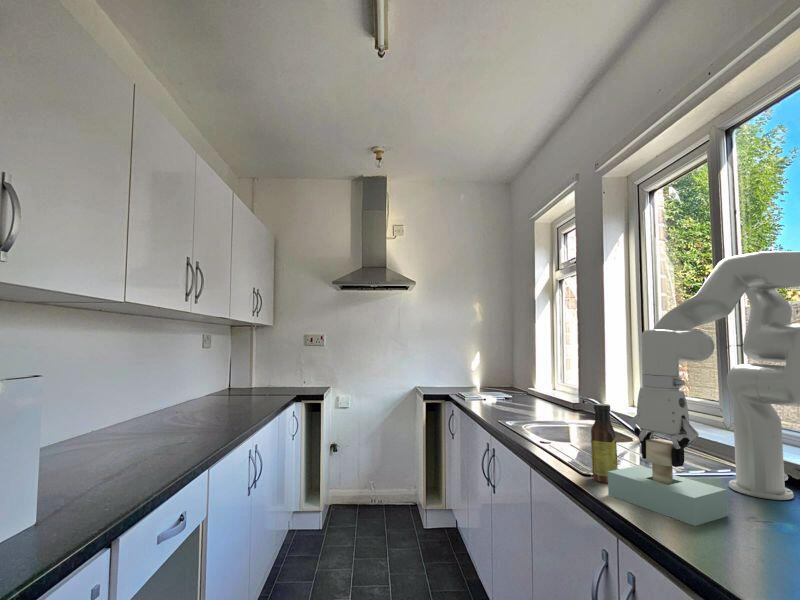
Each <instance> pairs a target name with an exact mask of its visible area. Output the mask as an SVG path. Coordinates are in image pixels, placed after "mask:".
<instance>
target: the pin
mask: <svg viewBox="0 0 800 600" xmlns="http://www.w3.org/2000/svg"><path fill="white" fill-rule="evenodd" d="M672 448H674V445H673V442H672V440H668V439H660V438H659V439H658V438H650V439H647V440H646V459H645V461H646V462H648V463H650V464H651V469H652V477H653V481H656V482H660V483H663V484H666V485H671V484H673V475H674V473H673V472H674V471H673V466H672Z"/></svg>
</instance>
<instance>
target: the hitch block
mask: <svg viewBox="0 0 800 600" xmlns="http://www.w3.org/2000/svg"><path fill="white" fill-rule="evenodd" d="M607 491H608V496H611V497H614V498H616V499H619V500H622V501H623V502H627V503H630V504H633V505H635V506H638V507H641V508H643V509H646V510H650V511H653V512H655V513H657V514H660V515H663V516H665V517H668V516H669V518H671V517H672V518H671V519H674V518H675V519H674V520H677V521H679V520H680V522H682V523H685V524H688V525H690V526H694V527H696V526H699V525H703V524H706V523H710V522H712V521H717V520H719V519H723V518H726V517H728V516H729V515H728V514H729V513H728V496H727V494H728V492H727V489H726V488H723V487H719V486H715V485H712V484H708V483H704V482H701V481H697V480H693V479H690V478H686V477H682V476H679V475H676V474H673V484H671V485H666V484H663V483H660V482H656V481H653V477H652V468H649V467H647V466H644V465H643V466H642V465H636V466H629V467H625V468H623V467H622V468H618V470H612V471H608V483H607Z"/></svg>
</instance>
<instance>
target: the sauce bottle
mask: <svg viewBox="0 0 800 600" xmlns="http://www.w3.org/2000/svg"><path fill="white" fill-rule="evenodd" d="M593 410H594V424H592V426H591V428H590V429H591V430H590V435H591V436H590V449H591V451H590V453H591V469H592V472H591V473H592V477H593V478H592V479H594V481H596V482H598V483H602V484H608V471H612V470H618V469H619V468H618V467H619V466H618V448H617V435H616V432H615V430H614V427H613V423H612V422H611V414H610V413H611V405H610V404H605V403H594V404H593Z"/></svg>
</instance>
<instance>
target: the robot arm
mask: <svg viewBox="0 0 800 600" xmlns="http://www.w3.org/2000/svg"><path fill="white" fill-rule="evenodd" d="M798 287H800V251H782V250H780V251H779V250H778V251H776V250H771V251H770V250H767V251H758V252H757V251H756V252H751V253H744V254H739V255H738V254H737V255H734V256H732V255H731V256H729V257H726V258H723V259H722V260H720V261H719V262H718V263H717V264H716V266H715V267H714V268H713V270H712V271H711V272H710V274H709V275H708V277H707V278H706V280H705V281H704V282H703V284H702V286H701V287H699V289H698V290H697V292H696V293H695V294H694V295H693V296H692V297H689V298H687V299H686V300H685V301H683V302H681V303H680V304H678V305H677V306H675V307H673V308H672V309H671V310H669V311H668V312H667V313H665V314H664V315H663V316H662V317H661V318H660V319H659V320H658V322H657V323H656V324H655V325H654V327H653V329H646V330H644V331H642V333H641V340H640V341H641V373H642V374H641V380H642V381H641V385H642V386H640V387H639V391H638V397H637V405H636V415H635V416H634V417H632V418H631V419H629V421H628V424H629V426H631V428H632V429H633V431H634V433H635V434H636V435H637V437H638V440H639V441H640V445H641V449H640V450H641V451H640V453H641V458H642V459H643V460H646V440H647V439H652V435H653V433H656V434H662V435H668V436H669V437H670V439H671V440H670V441H672V442H673V445H674V448H672V468H679V467H683V466H684V464H685V449H686V448H688V447H687V446H689V445H690V444H691V443H692V442H693V441H694V440H696V439H697V438H698V437H699V435H700V434H699V433H698V431H697V430H696V429H695V428H694V427H693V426H692V425H691V424H690V416H689V409H688V408H689V407H688V403H687V398H686V394H685V391H684V390H680V389H681V387H684V386H685V384H686V381H685V380H684V379H681V376H680V362H689V363H691V362H692V363H697V362H704V361H706V360H708V359H709V358H710V357H711V356H712V355H713V354H714V350H715V343H714V340H713V338H712V336H710V335H709V334H708V333H706V332H705V331H702V330H697V329H695V328H697V327H700V326H702V325H706V324H709V323H712V322H715V321H718V320H721V319H723V318H726V317H727V316H729V315H730V314H731V313H732V312H733V310H735V307H736V305H737V304H738V303H739V301H740V300H741V298H742V297H743V295H744V294H745V295H746V297H747V299H748V301H749V305H750V309H749V310H750V311H749V316H748V320H747V325H746V328H745V332H744V333H745V334H744V338H743V344H742V350H743V352H744V354H745V357H747V358H749V359H752V360H754V361H759V362H769V363H771V362H773V363H785V364H784V365H779V364H774V365H773V364H769V363H767V364H764V363H742V364H737V365H735V366H733V367H732V368H730V370H729V371H728V372H727V376H726V385H727V388H728V389H727V390H728V393H729V397H730V400H731V406H732V414H733V416H732V417H733V438H734V440H733V441H734V460H735V462H734V463H735V465H734V466H735V479H731V480H729V481H728V486H729V488H730V489H731V490H733V491H735V492H738V493H740V494H743V495H747V496H751V497H754V498H760V499H766V500H774V501H775V500H776V501H788V500H792V499H794V492H793V490H791V489H790V488H788V487H786V485H785V484H786V483H785V481H788V479H789V476H788V475H789V474H787V473H786V472H785V463H784V449H783V448H784V446H783V445H784V444H783V429H782V428H783V426H782V421H781V418H780V416H779V414H778V412H777V411H776V410H775V408H774V407H773V405H777V406H784V407H785V406H786V407H793V408H794V407H795V408H800V323H791V321H792V316H793V309H792V306H791V304H790V302H789V301H788V300H787V299H786V298H785V297H784V296H783V295H782V294H781V293H780V292H779V291H778V290H777V289H786V288H798ZM683 435H686V436H683Z"/></svg>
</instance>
